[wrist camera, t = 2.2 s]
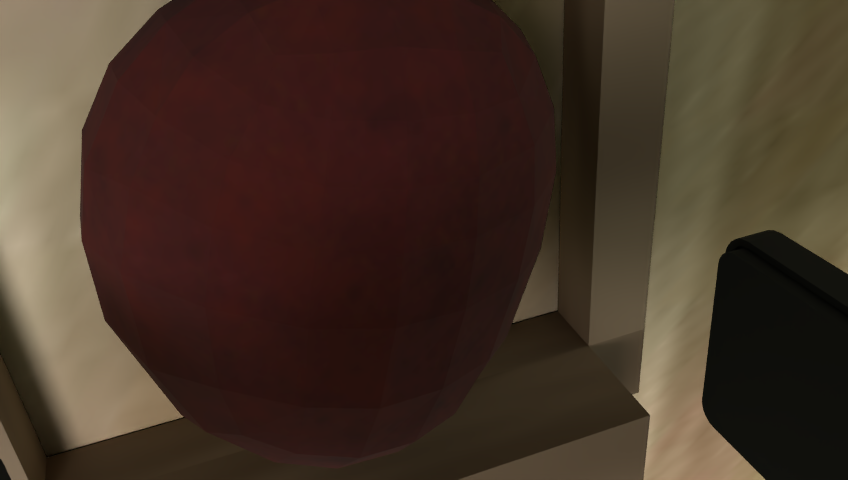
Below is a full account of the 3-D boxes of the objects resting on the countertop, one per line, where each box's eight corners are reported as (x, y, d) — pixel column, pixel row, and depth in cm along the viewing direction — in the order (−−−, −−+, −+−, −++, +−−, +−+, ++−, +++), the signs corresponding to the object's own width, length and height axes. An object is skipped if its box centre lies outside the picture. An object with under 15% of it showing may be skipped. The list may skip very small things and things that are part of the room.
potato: (529, -13, 15) (732, 80, 11) (387, 362, 19) (491, 567, 14) (125, -154, 12) (146, -114, 7) (37, 332, 15) (9, 591, 10)
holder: (-428, -273, 10) (-702, -305, 6) (650, -334, 13) (830, -373, 10) (3, 543, 17) (-19, 719, 14) (607, 357, 21) (700, 461, 18)
